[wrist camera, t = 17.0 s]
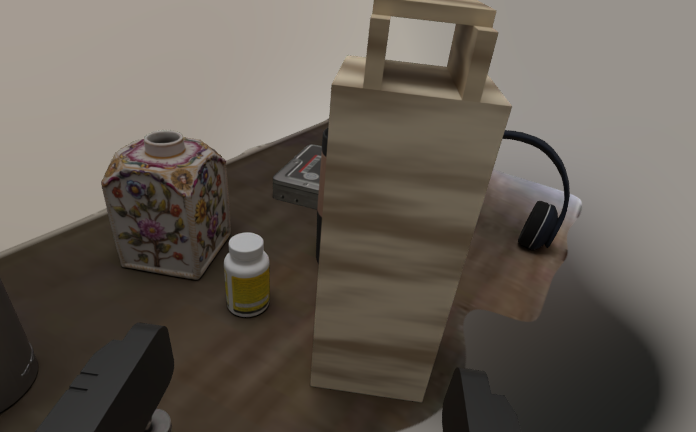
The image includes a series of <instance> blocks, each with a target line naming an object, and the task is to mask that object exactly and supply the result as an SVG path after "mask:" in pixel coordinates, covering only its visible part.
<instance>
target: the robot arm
mask: <svg viewBox="0 0 696 432" xmlns="http://www.w3.org/2000/svg"><path fill="white" fill-rule="evenodd" d="M173 370H174V358H173V353H172V348H171V343H170V338H169V333H168V329H167V327H165V326H159V325H152V324H145V323H136V324H135V325H134V326H133V327H132V328H131V329H130V331H129V332H128V334H127V335H126V336H125V338H124V339H123V341H119V340H112V341H111V342H109V343H108V344H107V345H105V346H104V347H103V348H101V349H100V350H99V351H97V352H96V353H95V354H94V355H93V356H92V357H91V359H90V360H89V361H88V363H87V364H86V365H85V367H84V368H83V369H82V370H81V373H80V375H78V376H77V377H76V378H75V380H74V381H73V382H72V384H71V385H70V386H69V387H70V388H69V390H66V392H65V393H64V394H63V396H62V397H61V398H60V400H59V401H58V402H57V404H56V405H55V406H54V408H53V409H52V410H51V412H50V413H49V414H48V415H47V417H46V418H45V419H44V421H43V422H42V423H41V425H40V426H39V427H38V429H37V430H36V431H35V432H144V431H145V429H146V427H147V425H148V423H149V421H150V419H151V417H152V415H153V414H154V412H155V410H156V408H157V406H158V404H159V402H160V400H161V398H162V397H163V395H164V393H165V391H166V389H167V387H168V385H169V383H170V381H171V378H172V375H173ZM37 372H38V362H37V359H36V356H35V354H34V351H33V348H32V346H31V344H30V342H29V341H28V339H27V336H26V334H25V332H24V329H23V327H22V325H21V323H20V321H19V318H18V316H17V314H16V312H15V309H14V307H13V305H12V303H11V301H10V298H9V296H8V294H7V292H6V289H5V287H4V285H3V283H2V281H1V278H0V412H2V411H3V410H5V409H6V408H8V407H9V406H11V405H12V404H14V403H15V402H16V401H17V400H18V399H19V398H20V397H22V396H23V395H24V393H25V392H26V391H27V390H28V389H29V388H30V386H31V385H32V383H33V381H34V380H35V378H36V375H37ZM442 425H443V432H521V429H520V425H519V421H518V417H517V414H516V413H515V411H514V410H513V408H512V407H511V405H510V404H509V402H508V400H507V399H506V397H505V396H504V395H497V394H491V390H490V386H489V381H488V377H487V374H486V373H485V372H484V371H479V370H472V369H465V368H458V367H457V368H456V369H455V371H454V374H453V377H452V379H451V382H450V385H449V388H448V391H447V393H446V396H445V399H444V403H443V410H442Z"/></svg>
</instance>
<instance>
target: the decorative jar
mask: <svg viewBox="0 0 696 432" xmlns="http://www.w3.org/2000/svg"><path fill="white" fill-rule="evenodd" d="M101 184H102V189H103V194H104V197H105V202H106V206H107V211H108V215H109V219H110V224H111V228H112V232H113V237H114V240H115V243H116V248H117V251H118V255H119V259H120V262H121V265H122V267H126V268H131V269H137V270H142V271H148V272H153V273H159V274H165V275H170V276H175V277H182V278H188V279H194V280H198V279H200V277H201V276H202V275H203V273H204V272H205V270H206V269H207V267H208V266H209V264H210V263H211V262H212V260H213V259H214V257H215V256H216V255H217V253H218V252H219V250H220V249H221V248H222V246H223V245H224V243H225V242H226V240H227V239H228V238H229V236H230V234H231V226H230V209H229V195H228V183H227V173H226V161H225V159H223V158H222V156H221V155H219V154H218V153H217V152H216V151H215V150H214V149H212V148H210V147H209V146H208V145H207V144H205V143H204V142H202V141H201V140H197V139H191V138H185V137H183V135H182V134H181V133H179V132H177V131H172V130H161V131H155V132H152V133H149V134H148V135H146V136H145V137H144V139H141V140H136V141H133V142H131V143H130V144H128V145H126V146H125V147H123V148H121V149H120V150H119V151H117V152H116V153H115V155H114V157H113V159H112V161H111V163H110V165H109V167H108V169H107V171H106V173H105V175H104V178H103V180H102V182H101Z"/></svg>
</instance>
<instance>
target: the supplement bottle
mask: <svg viewBox="0 0 696 432" xmlns="http://www.w3.org/2000/svg"><path fill="white" fill-rule="evenodd" d="M263 250H264V247H263V239H262V238H261V237H260V236H259V235H257V234H254V233H240V234H237V235H235V236H233V237H232V238H231V239H230V241H229V253H228V254H227V256H226V257H225V259H224V273H225V286H226V300H227V306H228V309H229V310H230V311H231V312H232V313H233V314H235V315H237V316H241V317H252V316H255V315H258V314H260V313H262V312H263V311H264V310H265V309H266V308H267V307H268V305H269V300H270V283H269V282H270V279H269V268H270V267H269V257H268V255H267V254H266V253H265V252H264V251H263Z"/></svg>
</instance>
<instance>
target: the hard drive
mask: <svg viewBox="0 0 696 432" xmlns="http://www.w3.org/2000/svg"><path fill="white" fill-rule="evenodd" d="M321 154H322V146H317V145H311V144H310V145H308V146H307V147H305V148H304V149H303V150H302V151H301V152H300V153H299V154H298V155H297V156H295V157H294V158H293V159H292V160H291V161H290V162H289V163H288V164H287V165H285V166H284V167H283V168H282V169H281V170H280V171H279V172H278V173H277V174H275V175H274V176H273V198H275V199H277V200H281V201H285V202H289V203H293V204H297V205H301V206H305V207H309V208H313V209H317V208H318V194H319V181H320V167H321ZM317 210H318V209H317Z"/></svg>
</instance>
